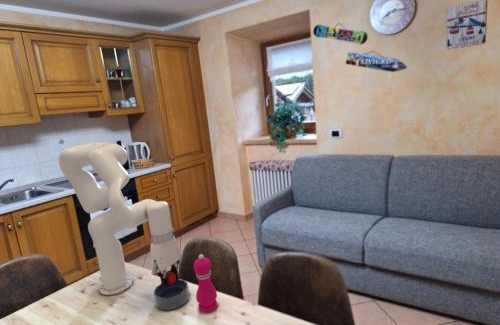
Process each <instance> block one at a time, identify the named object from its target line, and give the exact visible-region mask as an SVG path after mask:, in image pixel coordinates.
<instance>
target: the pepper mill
mask: <svg viewBox="0 0 500 325" xmlns="http://www.w3.org/2000/svg"><path fill="white" fill-rule="evenodd" d="M211 268H212V262H211V260H210V259H209V258H208V257H205V256H204V254H202V253H200V254H199V255H198V258H197V259H195V261H194V263H193V271H194V272H195V275H196V278H197V281H198V286H197V290H196V293H195V299H196V302H197V303H198V309H199V311H200V312H202V313H205V314H206V313H212V312H213V311H215V310H216V309H217V308H218V303H217V298H218V293H217V290H216V287H215V286H214V284H213V282H212V281H211V280H212V279H211V276H212V271H211Z"/></svg>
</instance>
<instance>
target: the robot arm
mask: <svg viewBox="0 0 500 325" xmlns="http://www.w3.org/2000/svg"><path fill="white" fill-rule="evenodd" d="M128 158H129V156H128V152H127V150H126V149H125V148H124V147H123V146H121V145H120V144H117V143H110V142H103V141H98V142H97V141H96V142H89V143H85V144H84V143H83V144H78V145H72V146H69V147H67V148H65V149H63V150H62V151H61V152H60V153H59V155H58V165H59V168H60V170H61V172H62V174H63V175H64V177H65V178H66V179H67V180H68V181H69V183H70V185H71V186H72V189H73V190H74V193H75V195H76V198H77V199H78V201H79V203H80V205H81V207H82V209H83V211H84V212H85V213H87V214H96V213H98V212H101V211H103V210H106V209H108V208H109V209H110V210H107V211H105V212H103V213H102V212H101V213H100V214H98V215H96V216H93V217H92V218H91V219H90V220H89V222H88V223H87V230H88V233H89V235H90V237H91V240H92V243H93V245H94V250H95V254H96V259H97V263H98V267H99V272H100V276H99V277H98V280H99V281H101V285H100V286H99V290H98V291H99V293H100V294H101V295H103V296H114V295H116V294H120V293H123V292H124V291H126V290H128V289H129V288H130V287H131V286H132V284H133V278H132V277H131V276H129V275H128V273H127V267H126V262H125V257H124V256H125V255H124V252H123V247H122V243H121V241H120V240H119V239H118V238H117V237H116V236H115V234H117V233H119V232H122V231H124V230H125V229H133V228H136V227H138V226H140V225H142V224H145V222H148V226H149V231H150V236H151V237H150V238H151V243H150V246H149V247H150V249H149V250H150V253H149V254H150V263H151V268H152V271H151V276H153V277H154V276H155V277H158V278H160V284H162V286H163V287H167V288H168V287H169V281H168V277H166V272H167V269H169V268H170V269H169V271H172V272H173V273H174V274H175V275H176V280H179V279H180V277H179V272H178V270H179V265H180V261H181V260H182V258H183V254H181V253H180V249H179V245H178V242H177V239H176V236H175V235H174V231H175V229H174V227H173V224H172V219H171V218H172V217H171V211H170V206H169V204H168V202H166V201H165V200H164V201H163V200H159V201H157V200H154V199H151V198H146V199H142V200H141V201H138V202H135V203H133V204H131V205H128V203H127V201H126V198H125V197H124V195H123V193H122V189H124V187H125V186H126V185H127V184H128V182H129V181H130V179H131V177H130V174H129V172H128V171H126V169H125V168H124V167H123V165H125V164H126V163H127V162H128ZM87 166H91V168H92V169H93V170H94V172H95V173H96V175H98V176H99V178H100V179H101V181H102V182H103V183H104V184H102V185H99V184H98V181H97V179H96V177H95V176H94V174H92V173H91V172H90V171H89V170H87V169H85V168H84V167H87Z"/></svg>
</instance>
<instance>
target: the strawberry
mask: <svg viewBox="0 0 500 325" xmlns="http://www.w3.org/2000/svg"><path fill="white" fill-rule="evenodd" d="M166 277H168V281H169V285H171V284H173V283H174V282H175V280H176V275H175V274H174V273H173V272H172V271H170V270H166Z"/></svg>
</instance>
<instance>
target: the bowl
mask: <svg viewBox="0 0 500 325" xmlns="http://www.w3.org/2000/svg"><path fill="white" fill-rule="evenodd" d="M153 297H154V303H155V304H154V305H155V306H156V307H157V308H158V309H160V310H163V311H167V310H168V311H170V310H175V309H177V308H179V307H181V306H183V305H184V304H186V303H187V302H188V301H189V298H190V290H189V283H188V282H187V281H186V280H185V279H181V278H179V280H175V282H174V283H173V284H171V285H169V287H168V288H167V287H163V286H162V284H161V283H160V284H158V285H157V286H156V287H155V288H154V290H153Z"/></svg>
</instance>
